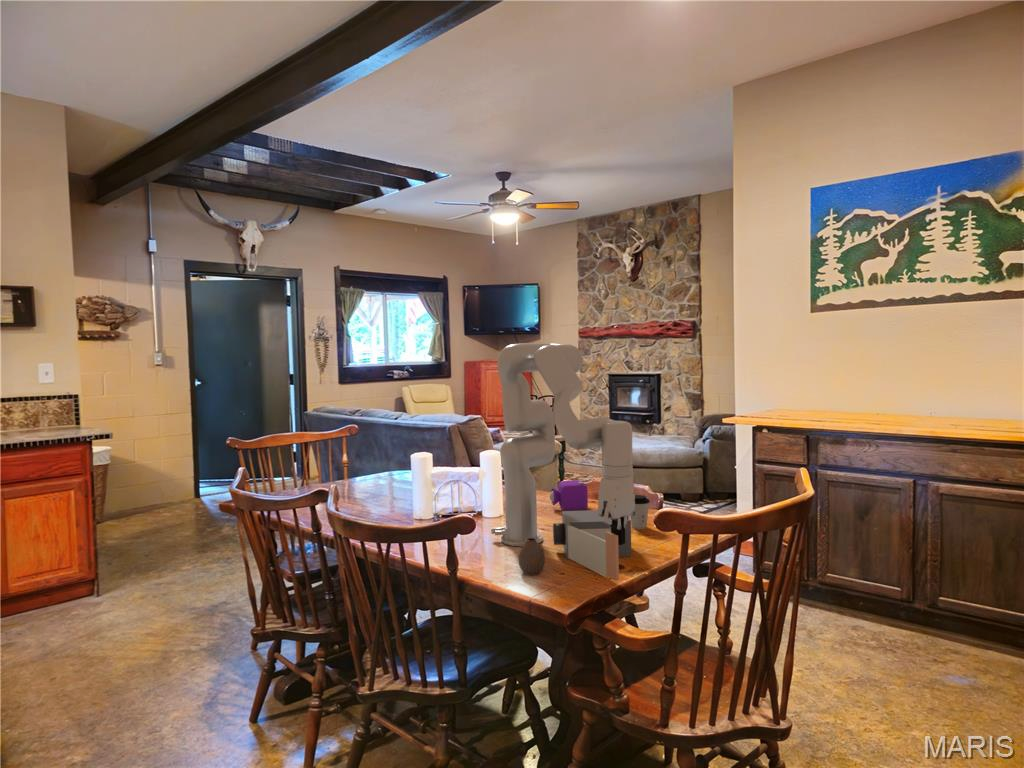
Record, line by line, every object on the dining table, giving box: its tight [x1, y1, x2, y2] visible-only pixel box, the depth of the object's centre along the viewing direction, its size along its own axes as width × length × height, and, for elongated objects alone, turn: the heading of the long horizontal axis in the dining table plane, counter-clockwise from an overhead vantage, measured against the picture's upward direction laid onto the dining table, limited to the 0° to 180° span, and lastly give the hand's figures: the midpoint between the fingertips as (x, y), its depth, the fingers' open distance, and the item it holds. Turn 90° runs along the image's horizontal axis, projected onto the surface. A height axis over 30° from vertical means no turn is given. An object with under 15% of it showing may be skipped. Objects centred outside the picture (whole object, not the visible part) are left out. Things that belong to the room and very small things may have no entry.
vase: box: [518, 538, 546, 576], centre depth 158 cm, size 7×7×9 cm
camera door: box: [565, 523, 620, 581], centre depth 158 cm, size 22×1×12 cm, turn 29°
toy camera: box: [549, 480, 589, 511], centre depth 221 cm, size 11×14×10 cm
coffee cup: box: [629, 494, 650, 530], centre depth 195 cm, size 7×7×10 cm
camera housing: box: [552, 509, 632, 559], centre depth 174 cm, size 21×12×11 cm, turn 90°
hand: (618, 543), depth 152 cm, fingers closed
